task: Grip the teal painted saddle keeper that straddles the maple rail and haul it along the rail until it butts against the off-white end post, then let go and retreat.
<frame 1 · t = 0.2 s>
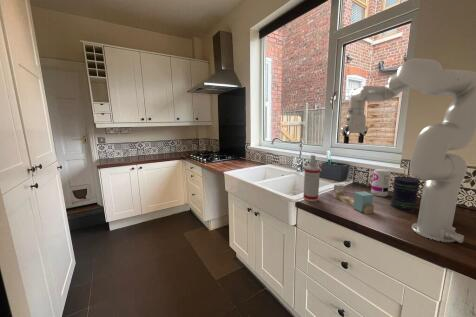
hand: (353, 143, 117), 31 cm above the worktop, fingers open, 9 cm apart
keeper: (362, 201, 101), point 4 cm above the worktop, slide at 0.0 cm
spray bottle: (310, 199, 117), on the worktop
supplement can: (379, 194, 122), on the worktop
storage jar: (402, 207, 104), on the worktop
rail: (350, 204, 109), on the worktop
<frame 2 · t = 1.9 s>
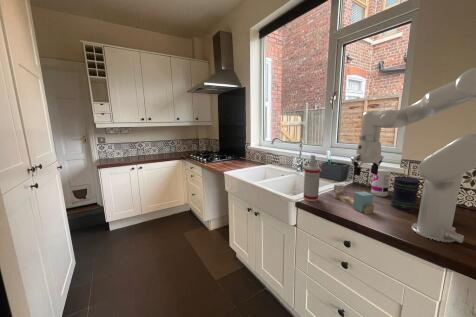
hand: (365, 174, 98), 18 cm above the worktop, fingers open, 9 cm apart
nothing on the worktop moved.
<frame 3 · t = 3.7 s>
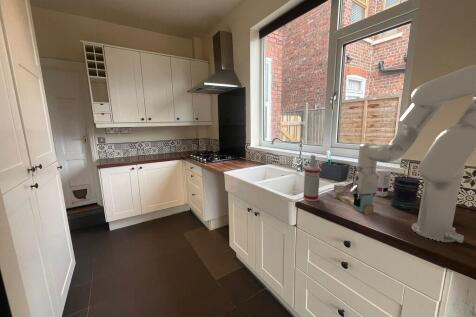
hand: (362, 204, 101), 3 cm above the worktop, fingers closed on keeper, 6 cm apart
keeper: (362, 201, 101), point 4 cm above the worktop, slide at 0.0 cm, touching gripper
everything else where it was.
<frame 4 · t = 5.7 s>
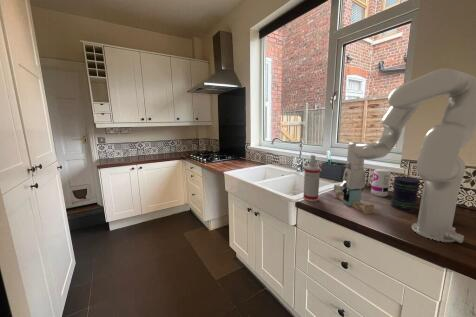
hand: (351, 199, 108), 3 cm above the worktop, fingers closed on keeper, 6 cm apart
keeper: (351, 196, 107), point 4 cm above the worktop, slide at 7.1 cm, touching gripper
everything else where it was.
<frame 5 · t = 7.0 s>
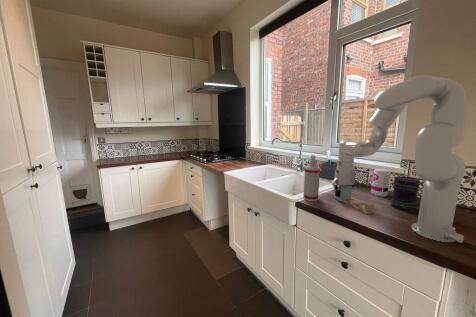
hand: (342, 195, 114), 3 cm above the worktop, fingers closed on keeper, 6 cm apart
keeper: (343, 192, 114), point 4 cm above the worktop, slide at 13.5 cm, touching gripper, rail
everything else where it was.
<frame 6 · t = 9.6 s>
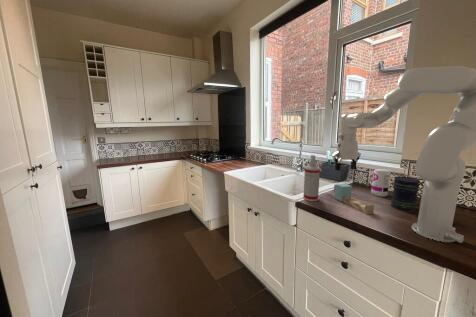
hand: (345, 169, 111), 17 cm above the worktop, fingers open, 9 cm apart
keeper: (343, 192, 114), point 4 cm above the worktop, slide at 13.5 cm, touching rail
everything else where it was.
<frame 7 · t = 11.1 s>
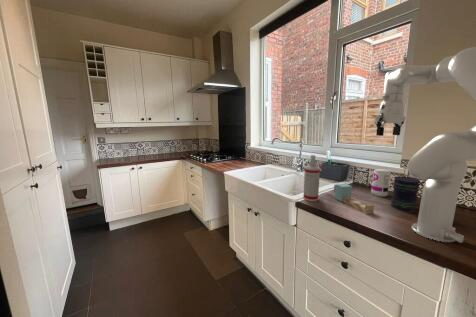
hand: (388, 135, 99), 36 cm above the worktop, fingers open, 9 cm apart
nothing on the worktop moved.
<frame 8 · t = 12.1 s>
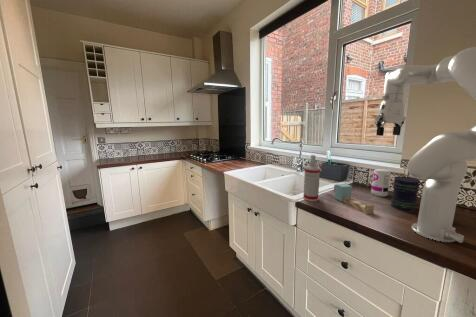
hand: (388, 135, 99), 36 cm above the worktop, fingers open, 9 cm apart
nothing on the worktop moved.
at the end: keeper slide at 13.5 cm; the gripper is holding nothing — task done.
